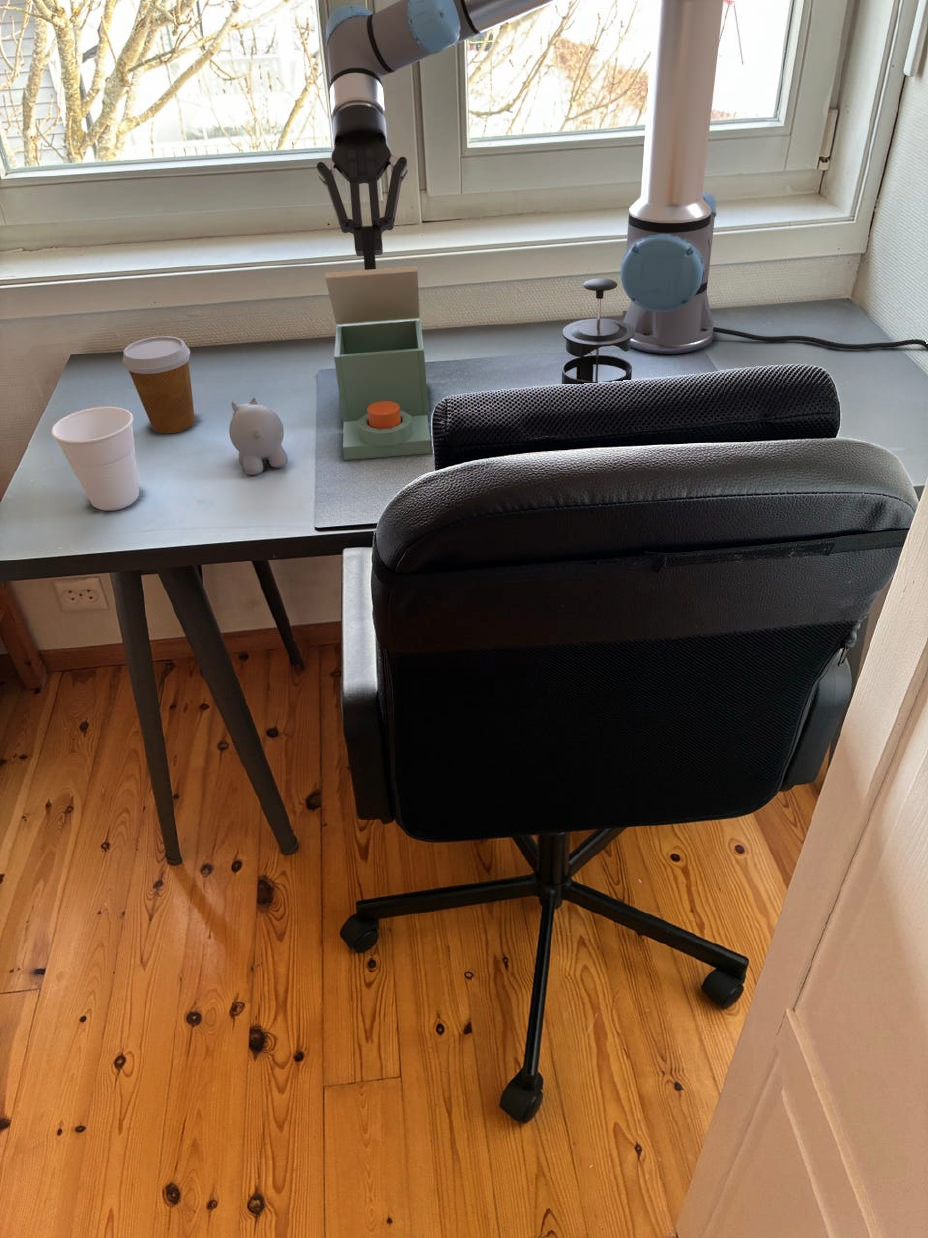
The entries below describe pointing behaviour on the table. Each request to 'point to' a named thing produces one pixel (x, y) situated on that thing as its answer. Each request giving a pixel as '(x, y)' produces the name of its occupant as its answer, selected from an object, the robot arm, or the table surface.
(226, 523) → the table surface
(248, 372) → the table surface
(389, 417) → the button
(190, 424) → the disposable coffee cup
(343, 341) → the coffee maker
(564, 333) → the french press
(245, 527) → the table surface
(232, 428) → the round bodied animal figurine
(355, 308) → the lid
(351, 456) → the control block
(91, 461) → the cup
